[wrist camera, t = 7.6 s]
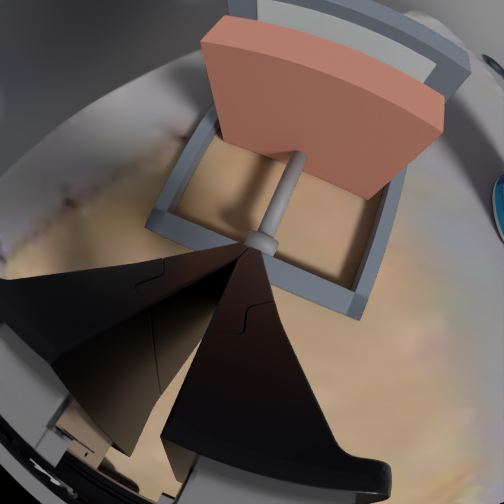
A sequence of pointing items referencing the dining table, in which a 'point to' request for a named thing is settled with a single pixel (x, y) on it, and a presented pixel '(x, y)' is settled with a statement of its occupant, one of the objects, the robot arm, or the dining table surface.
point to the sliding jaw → (315, 110)
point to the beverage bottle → (499, 204)
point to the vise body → (354, 301)
